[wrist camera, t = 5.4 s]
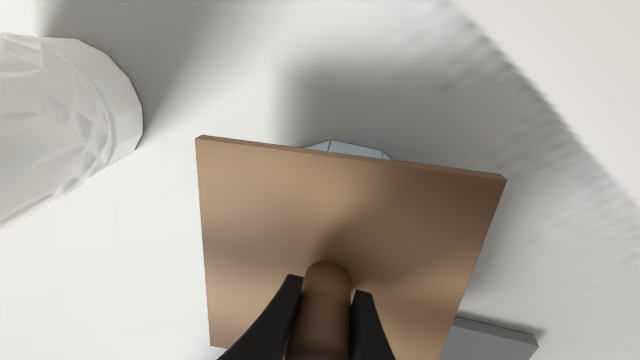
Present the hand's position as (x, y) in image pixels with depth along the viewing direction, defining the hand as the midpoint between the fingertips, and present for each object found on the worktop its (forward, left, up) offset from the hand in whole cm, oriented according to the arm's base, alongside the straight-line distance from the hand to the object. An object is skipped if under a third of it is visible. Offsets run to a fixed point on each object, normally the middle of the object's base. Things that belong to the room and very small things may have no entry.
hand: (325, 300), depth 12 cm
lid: (0, 0, -2) cm, 2 cm away
